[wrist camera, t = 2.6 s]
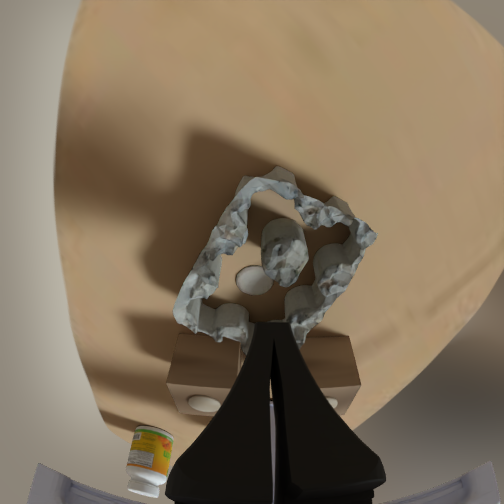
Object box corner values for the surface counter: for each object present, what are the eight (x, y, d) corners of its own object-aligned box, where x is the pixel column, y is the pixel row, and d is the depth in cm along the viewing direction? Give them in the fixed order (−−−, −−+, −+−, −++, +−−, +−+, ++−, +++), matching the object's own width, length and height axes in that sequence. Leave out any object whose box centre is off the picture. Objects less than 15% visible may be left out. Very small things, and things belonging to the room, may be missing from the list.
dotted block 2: (336, 369, 23) (344, 417, 19) (283, 371, 23) (286, 420, 19) (348, 335, 20) (361, 387, 16) (289, 336, 20) (293, 392, 16)
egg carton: (272, 331, 20) (273, 379, 17) (174, 290, 19) (158, 336, 15) (373, 216, 15) (400, 257, 12) (256, 143, 13) (254, 166, 10)
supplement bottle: (176, 442, 34) (167, 501, 26) (141, 435, 34) (129, 492, 26) (170, 429, 31) (158, 495, 23) (131, 421, 31) (116, 484, 23)
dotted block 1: (241, 370, 23) (238, 420, 19) (188, 367, 23) (178, 415, 19) (240, 336, 20) (235, 391, 16) (179, 332, 21) (165, 385, 17)
